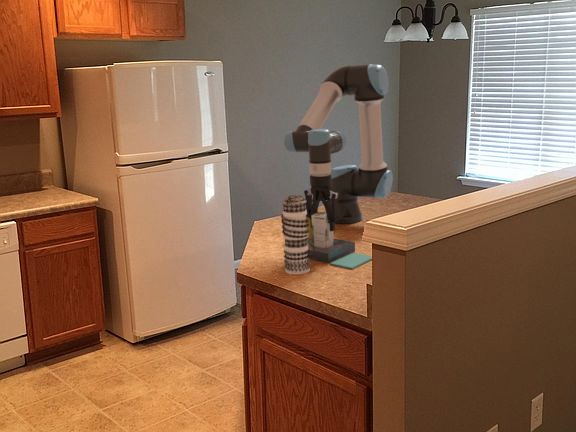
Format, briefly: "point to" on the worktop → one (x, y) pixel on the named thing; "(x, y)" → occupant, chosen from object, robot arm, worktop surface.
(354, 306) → the worktop surface
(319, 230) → the syrup box
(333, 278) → the worktop surface
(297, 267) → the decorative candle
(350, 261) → the mat
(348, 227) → the worktop surface
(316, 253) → the grey square tray
